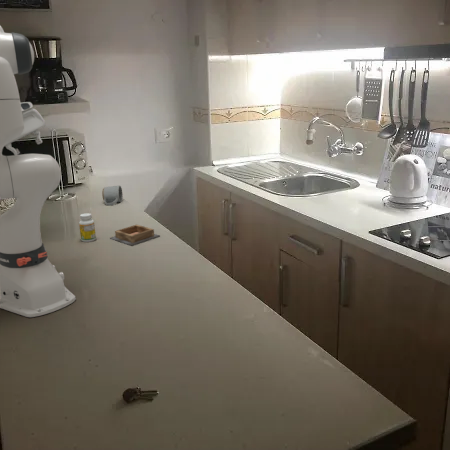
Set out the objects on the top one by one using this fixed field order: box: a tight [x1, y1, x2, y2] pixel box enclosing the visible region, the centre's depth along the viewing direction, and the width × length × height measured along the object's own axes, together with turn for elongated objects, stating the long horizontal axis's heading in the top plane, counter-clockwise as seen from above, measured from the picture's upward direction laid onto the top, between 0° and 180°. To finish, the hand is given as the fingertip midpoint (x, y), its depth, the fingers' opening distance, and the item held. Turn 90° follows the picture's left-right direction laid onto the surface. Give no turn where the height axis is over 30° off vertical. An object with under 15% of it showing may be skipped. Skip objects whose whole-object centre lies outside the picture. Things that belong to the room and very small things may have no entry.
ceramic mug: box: [101, 185, 124, 206], centre depth 238 cm, size 11×8×8 cm
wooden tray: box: [109, 224, 161, 247], centre depth 189 cm, size 13×13×3 cm
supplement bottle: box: [78, 212, 97, 243], centre depth 187 cm, size 5×5×10 cm
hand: (29, 148), depth 184 cm, fingers open, 8 cm apart
